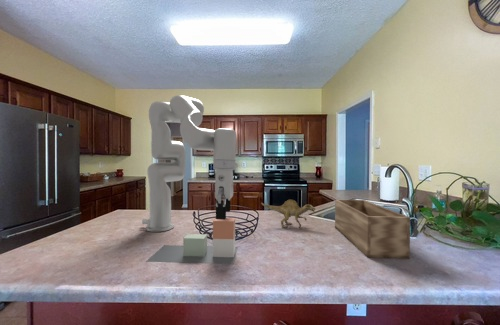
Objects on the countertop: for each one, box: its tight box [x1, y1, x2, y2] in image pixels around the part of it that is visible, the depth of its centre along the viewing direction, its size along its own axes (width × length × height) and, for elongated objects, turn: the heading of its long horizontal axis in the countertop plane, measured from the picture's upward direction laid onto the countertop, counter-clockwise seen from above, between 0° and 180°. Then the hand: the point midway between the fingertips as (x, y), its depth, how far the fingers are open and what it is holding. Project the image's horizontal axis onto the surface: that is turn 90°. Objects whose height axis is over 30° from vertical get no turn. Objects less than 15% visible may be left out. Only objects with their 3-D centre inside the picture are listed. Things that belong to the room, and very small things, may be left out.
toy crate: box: [334, 199, 411, 260], centre depth 89 cm, size 14×32×14 cm, turn 177°
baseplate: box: [146, 244, 239, 265], centre depth 74 cm, size 28×13×1 cm, turn 87°
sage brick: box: [182, 233, 208, 257], centre depth 74 cm, size 7×4×6 cm, turn 87°
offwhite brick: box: [212, 236, 236, 257], centre depth 73 cm, size 7×4×6 cm, turn 87°
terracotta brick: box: [212, 217, 236, 240], centre depth 73 cm, size 7×4×6 cm, turn 87°
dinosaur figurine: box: [260, 199, 316, 229], centre depth 108 cm, size 8×26×13 cm, turn 80°
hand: (223, 215), depth 73 cm, fingers open, 9 cm apart
